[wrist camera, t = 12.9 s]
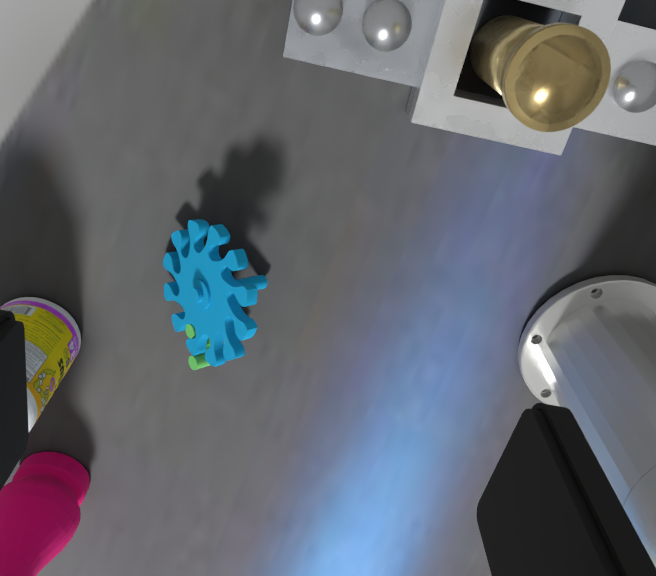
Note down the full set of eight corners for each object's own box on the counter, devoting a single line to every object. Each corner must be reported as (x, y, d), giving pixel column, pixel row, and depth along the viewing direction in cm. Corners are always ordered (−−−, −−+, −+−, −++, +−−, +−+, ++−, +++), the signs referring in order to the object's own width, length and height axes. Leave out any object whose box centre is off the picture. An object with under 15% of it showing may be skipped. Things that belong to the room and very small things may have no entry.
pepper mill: (12, 440, 52) (-146, 686, 34) (96, 452, 53) (-17, 699, 35) (16, 497, 55) (-126, 746, 38) (95, 507, 56) (-8, 756, 39)
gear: (166, 194, 40) (254, 269, 34) (237, 190, 44) (326, 256, 39) (145, 327, 45) (219, 410, 40) (210, 312, 49) (286, 385, 44)
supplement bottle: (57, 378, 49) (-24, 504, 37) (-19, 332, 46) (-129, 452, 35) (100, 327, 46) (28, 445, 35) (23, 276, 44) (-81, 386, 33)
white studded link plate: (736, 15, 35) (775, 21, 32) (659, 167, 40) (687, 185, 37) (309, -95, 33) (307, -100, 30) (279, 82, 37) (275, 94, 34)
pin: (554, 17, 35) (628, 38, 27) (525, 98, 38) (584, 141, 29) (478, -1, 35) (529, 13, 26) (453, 81, 37) (491, 120, 29)
